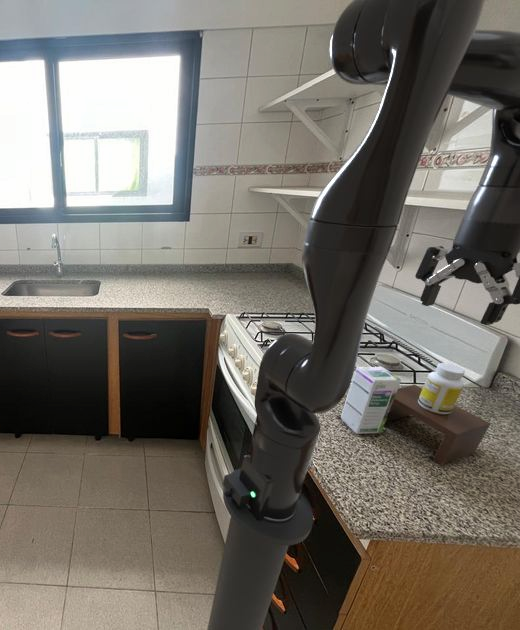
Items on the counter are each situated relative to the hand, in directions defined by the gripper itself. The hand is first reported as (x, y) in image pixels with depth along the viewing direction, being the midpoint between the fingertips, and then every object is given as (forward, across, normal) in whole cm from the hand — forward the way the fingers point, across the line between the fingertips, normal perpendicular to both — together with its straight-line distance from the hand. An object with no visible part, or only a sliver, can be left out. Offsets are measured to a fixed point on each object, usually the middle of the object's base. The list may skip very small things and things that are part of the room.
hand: (455, 313), depth 59 cm
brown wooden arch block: (+32, -2, +11) cm, 34 cm away
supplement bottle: (+24, -2, +11) cm, 27 cm away
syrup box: (+32, -9, +1) cm, 33 cm away
